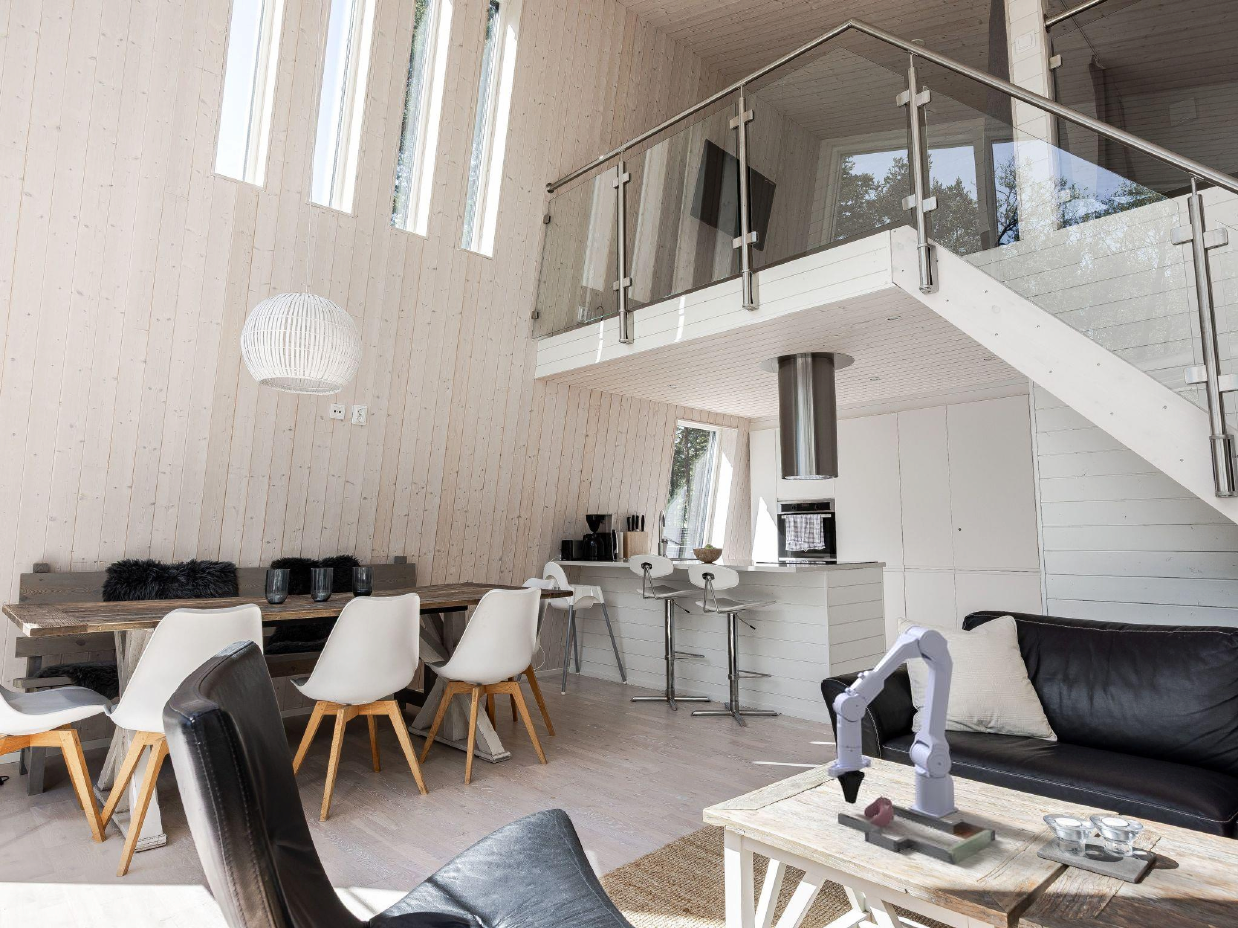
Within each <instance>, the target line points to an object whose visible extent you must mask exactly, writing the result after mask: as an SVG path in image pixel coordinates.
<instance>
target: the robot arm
mask: <svg viewBox="0 0 1238 928" xmlns="http://www.w3.org/2000/svg"><path fill="white" fill-rule="evenodd" d="M917 658H918V659H919V658H921V659H922V661H924V663H925V664H926V665H927V667H928V668H927V669H928V671H927V676H926V677H927V678H926V685H925V686H926V687H925V695H924V700H923V703H924V704H923V711H922V716H921V717H922V719H921V726H920V730H919V731H918V732H917V733H916V734H915V735H914V741H913V743H912V745H911V747H910V748H909V758H910V759H911V761H912V763H914V787H915V788H914V789H915V790H914V791H915V792H914V793H915V795H914V796H915V803H914V804H912V805H909V806H907V807H908V809H909V810H912V811H915V812H918V813H921V814H924V815H927V816H930V817H934V818H937V819H940V818H942V817H945V816H947V815H949V814H951V813H954V812H956V811H958V810H959V808H958V807H956V806H955V788H954V787H955V785H954V780H953V777H952V776H951V774H950V771H951V768H952V759H951V757H950V745H949V743H948V740H947V739H946V737H945V732H946V727H947V726H946V724H947V716H948V715H947V714H948V709H949V699H950V694H951V693H950V691H951V683H952V674H953V667H954V662H953V659H952V656H951V654H950V651H949V649H948V640H947V639H946V638H945V636H943V635H942V634H941V632H939V631H937V630H934V629H928V628H925V627H923V626H919V625H911V626H909V627H908V628H906V629H905V631H904V633H902V634H900V635H899V637H898V638H897V640H896V642H895V643H894V645H893V646H892V647H891V648H890V649H889V651H888V652H887V653H886V654H885V655H884V657H883V658H882V659H881V660H880V662H878V664H876V666H875V667H874V668H873V670H865V671H864V672H859V674H857V677H858V678H857V679H856V680H855V681H854V682H853V683H852V684H851V685H850V686H849V687H846V688H845V689H844V691H845V692H843V693H842V692H841V693H839V694H838V695H837V696H836V697H835V699H834V702H833V703H832V708H833V711H834V712H835V713H836V735H837V736H836V738H837V739H836V740H837V741H836V742H837V749H836V750H837V751H836V752H837V753H836V754H837V759H834V761H833V765H832V766H830V767H828V768H827V776H828V777H831V778H834V779H836V778H837V780H838V782H839V784H840V786H841V790H842V793H843V797H844V801H845V802H846V803H849V804H852V805H854V804H856V803H857V799H858V796H859V795H858V794H859V790H860V787H861V784H862V782H863V781H864V778H865V777H866V775H865V774H866V773H865V772H864V771H862V769H864V768H871V767H872V765H871V763H872V761H871V758H869V757H865V756H863V748H862V746H863V745H862V718H864V716H865V714H866V708H867V706H868V705H869V704H870V703H871V702H873V700H874V699H875V698H876V697H877V696H878V695H879V694H880V693H881V691H883V690H884V688H885V680H886V679H887V678H888V677H889V676H890V675H892V674H893V673H894V672H895V671H896V670H897V669H898V668H899V667H900V666H901V665H902V664H903V663H904V662H906V660H908V659H917Z"/></svg>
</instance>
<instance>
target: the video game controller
mask: <svg viewBox="0 0 1238 928" xmlns="http://www.w3.org/2000/svg"><path fill="white" fill-rule="evenodd" d="M875 800H876V801H875ZM875 800H874V801H873V802H872V803H871V804H869V805H867V806H866V807H865V809H864V811H863V813H864V816H865V817H866V818H871V819H870V820H869V822H868V823H871V824H873V825H876V826H879V827H882V828H885V827H886V825H888V824H889V823H891V821H893V820H895V815H893V813H894V810H893V809H892V804H893V803H892V801H891V799H889V798H888V797H885V796H884V797H883V796H882V795H880V797H878V798H876V799H875Z"/></svg>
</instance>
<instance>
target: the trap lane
mask: <svg viewBox="0 0 1238 928" xmlns="http://www.w3.org/2000/svg"><path fill="white" fill-rule="evenodd" d="M876 800H877V799H875V800H874V802H875V801H876ZM892 809H893V810H894V813H893V815H894V816H895V815H897V816H896V817H899V818H901V817H902V819H904V818H906V819H905V820H908V821H910V820H911V821H912V822H914V821H915V822H914V823H917V824H920V823H921V824H920V825H923V824H924V825H923V826H926V827H929V826H930V827H929V828H932V827H933V829H935V830H938V831H941V830H942V832H944V833H947V832H948V833H947V834H950V833H951V835H953V836H955V837H956V836H957V837H959V838H962V839H963V840H960V841H959V842H957V843H955V844H952V845H950V846H948V847H947V849H945V848H942V847H938V846H936V845H933V844H930V843H927V842H925V841H922V840H919V839H916V838H913V837H910V836H908V835H906V836H903V837H900V838H899V839H893V838H890V837H887V836H885V835H883V827H879V826H876V825H873V824H871V823H869V822H867V821H866V820H865V821H864V820H861V819H859V818H856V817H854V816H850V815H849V814H844V813H842V812H839V813H837V823H838V824H840V825H843V826H846V827H848V826H849V828H851V827H852V828H851V829H854V830H857V831H859V830H860V831H859V832H862V833H864V841H865V842H868V843H870V844H872V843H873V844H872V845H875V844H876V845H875V846H878V847H880V846H882V847H881V848H883V847H885V848H884V849H886V848H887V849H886V850H889V849H890V850H889V851H891V850H894V851H896V852H895V853H897V852H899V853H901V852H902V851H901V850H903V851H905V850H904V849H906V850H907V848H908V849H909V848H910V849H909V850H912V849H913V850H912V851H914V850H916V851H915V852H918V853H920V852H921V854H923V853H924V854H923V855H925V854H926V856H928V855H929V856H928V857H931V856H933V857H932V858H934V859H936V858H937V860H939V859H940V860H939V861H942V862H946V863H948V864H950V863H951V864H950V865H954V864H956V863H958V862H960V861H962V860H965V859H967V858H968V857H970V856H973V855H974V854H976V853H979V852H981V851H983V850H984V849H986V848H989V847H991V846H992V842H993V841H995V840H996V830H995V829H994V828H990V827H987V826H984V825H980V824H977V823H973V822H970V821H968V820H964V819H962V818H959V819H957V820H955V821H953V822H949V821H946V820H942V819H940V818H935V817H932V816H929V815H926V814H923V813H920V812H917V811H913V810H910V809H907V808H905V807H902V806H899V805H895V804H893V803H892ZM894 851H893V852H894ZM900 851H901V852H900Z"/></svg>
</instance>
